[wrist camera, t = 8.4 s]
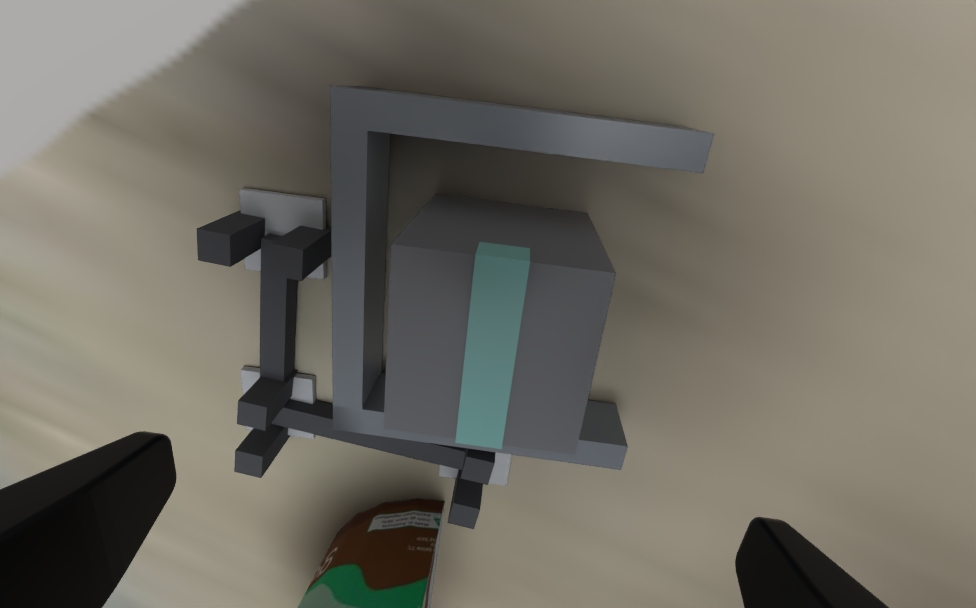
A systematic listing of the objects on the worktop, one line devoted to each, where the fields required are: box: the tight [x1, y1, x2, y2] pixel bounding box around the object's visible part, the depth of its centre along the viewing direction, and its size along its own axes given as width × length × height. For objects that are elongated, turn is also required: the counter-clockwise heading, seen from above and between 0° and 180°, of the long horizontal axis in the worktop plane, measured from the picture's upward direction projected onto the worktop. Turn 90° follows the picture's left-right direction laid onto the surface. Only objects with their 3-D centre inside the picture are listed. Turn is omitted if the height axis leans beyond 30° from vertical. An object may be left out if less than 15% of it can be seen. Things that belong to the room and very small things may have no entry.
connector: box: [384, 194, 616, 455], centre depth 15 cm, size 5×5×6 cm
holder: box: [330, 86, 714, 470], centre depth 16 cm, size 11×10×2 cm
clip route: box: [197, 188, 511, 529], centre depth 18 cm, size 11×11×2 cm
